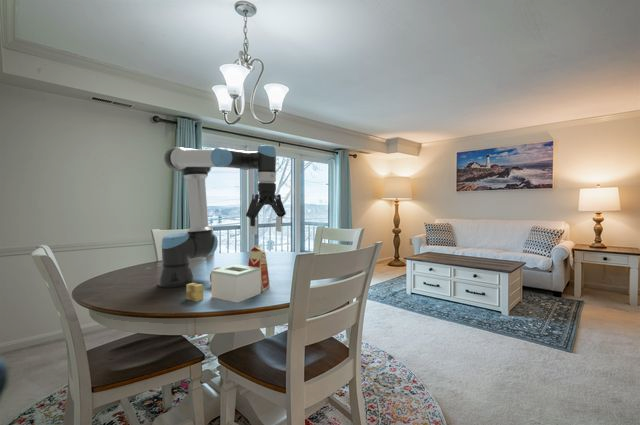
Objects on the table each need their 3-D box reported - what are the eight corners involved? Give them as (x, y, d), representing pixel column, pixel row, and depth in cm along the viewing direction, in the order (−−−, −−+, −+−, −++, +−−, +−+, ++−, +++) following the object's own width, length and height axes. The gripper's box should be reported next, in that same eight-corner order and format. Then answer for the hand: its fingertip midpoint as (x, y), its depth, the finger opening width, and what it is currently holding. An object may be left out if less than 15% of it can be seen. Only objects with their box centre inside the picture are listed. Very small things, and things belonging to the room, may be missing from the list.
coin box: (211, 297, 136) (211, 270, 135) (236, 288, 148) (235, 264, 147) (237, 302, 129) (237, 274, 128) (260, 293, 141) (260, 267, 140)
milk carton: (263, 291, 144) (262, 245, 143) (243, 290, 146) (242, 244, 145) (270, 285, 153) (270, 242, 152) (251, 284, 155) (251, 242, 154)
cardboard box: (186, 299, 133) (186, 284, 133) (192, 297, 136) (192, 282, 136) (197, 301, 131) (196, 286, 130) (203, 299, 133) (202, 284, 133)
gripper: (249, 181, 129) (249, 236, 130) (293, 183, 148) (293, 231, 149) (237, 181, 133) (237, 234, 135) (282, 183, 153) (281, 229, 154)
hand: (267, 232), depth 142 cm, fingers open, 13 cm apart
